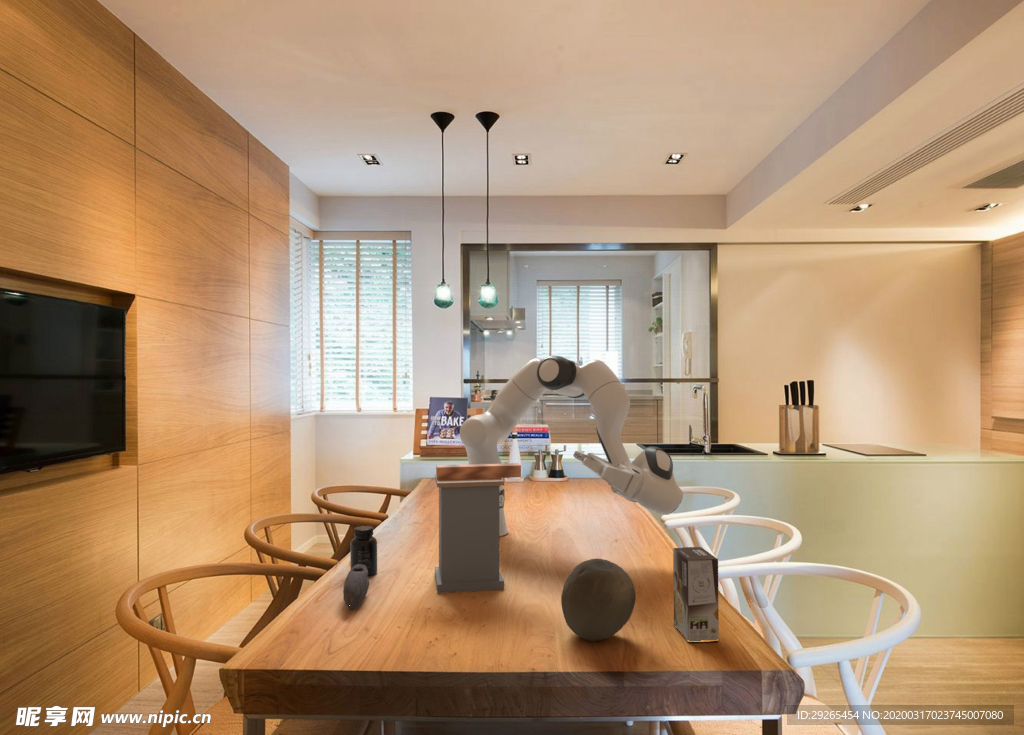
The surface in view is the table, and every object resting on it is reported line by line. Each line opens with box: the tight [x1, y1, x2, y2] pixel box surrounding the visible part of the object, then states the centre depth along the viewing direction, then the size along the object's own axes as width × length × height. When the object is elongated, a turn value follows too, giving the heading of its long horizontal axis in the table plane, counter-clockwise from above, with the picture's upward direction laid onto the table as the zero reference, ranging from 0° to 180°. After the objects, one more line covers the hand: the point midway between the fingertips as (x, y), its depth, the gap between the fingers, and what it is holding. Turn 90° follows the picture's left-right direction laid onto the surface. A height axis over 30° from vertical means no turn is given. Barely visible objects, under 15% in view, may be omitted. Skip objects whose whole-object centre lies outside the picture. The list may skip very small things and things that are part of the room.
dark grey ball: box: [560, 558, 637, 642], centre depth 123 cm, size 14×14×15 cm
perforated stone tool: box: [342, 564, 370, 611], centre depth 142 cm, size 15×5×7 cm, turn 4°
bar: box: [435, 462, 522, 480], centre depth 157 cm, size 21×4×3 cm, turn 100°
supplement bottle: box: [349, 525, 378, 578], centre depth 162 cm, size 7×7×12 cm
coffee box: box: [672, 546, 720, 641], centre depth 125 cm, size 9×6×16 cm
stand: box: [434, 473, 505, 594], centre depth 156 cm, size 16×14×26 cm
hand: (579, 457), depth 162 cm, fingers open, 8 cm apart
